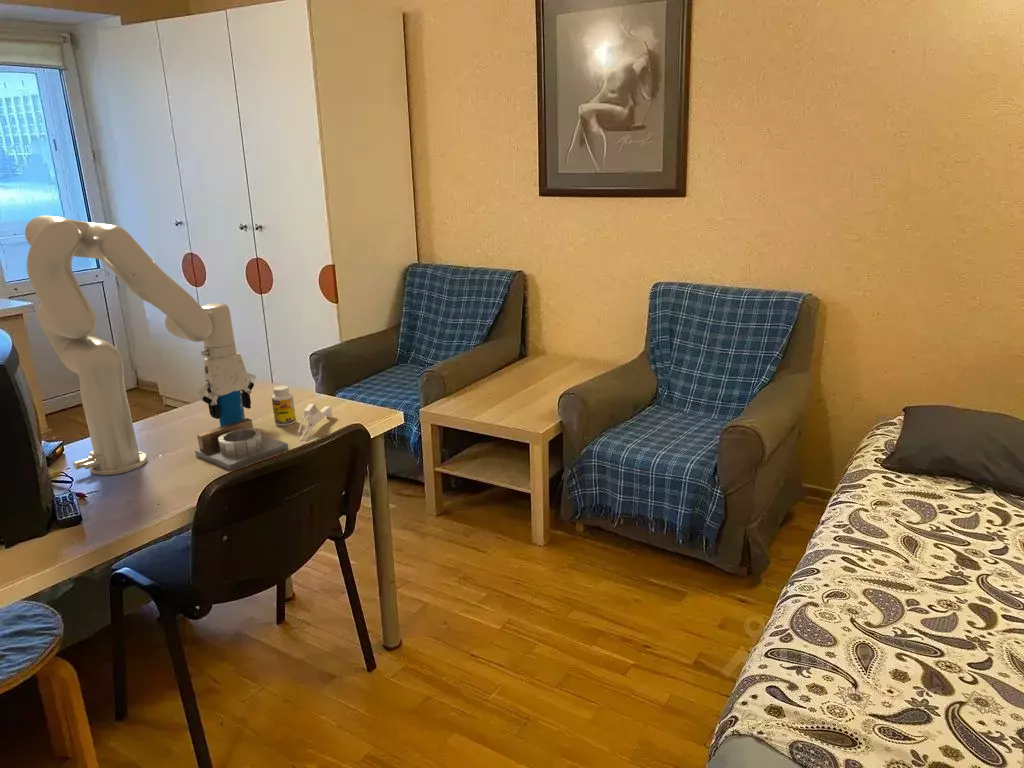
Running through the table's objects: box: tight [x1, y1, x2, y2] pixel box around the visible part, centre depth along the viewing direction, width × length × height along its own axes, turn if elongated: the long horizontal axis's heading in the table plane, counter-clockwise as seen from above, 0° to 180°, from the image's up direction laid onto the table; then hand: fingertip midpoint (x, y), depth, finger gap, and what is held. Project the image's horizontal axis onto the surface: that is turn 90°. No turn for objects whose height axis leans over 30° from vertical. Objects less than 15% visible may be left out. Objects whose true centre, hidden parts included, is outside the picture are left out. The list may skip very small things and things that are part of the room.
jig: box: [194, 417, 289, 472], centre depth 192 cm, size 16×16×6 cm
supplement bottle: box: [271, 385, 297, 427], centre depth 211 cm, size 6×6×10 cm
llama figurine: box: [296, 403, 333, 442], centre depth 206 cm, size 2×11×18 cm
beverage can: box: [216, 391, 246, 427], centre depth 208 cm, size 6×6×12 cm
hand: (231, 412), depth 208 cm, fingers open, 8 cm apart
